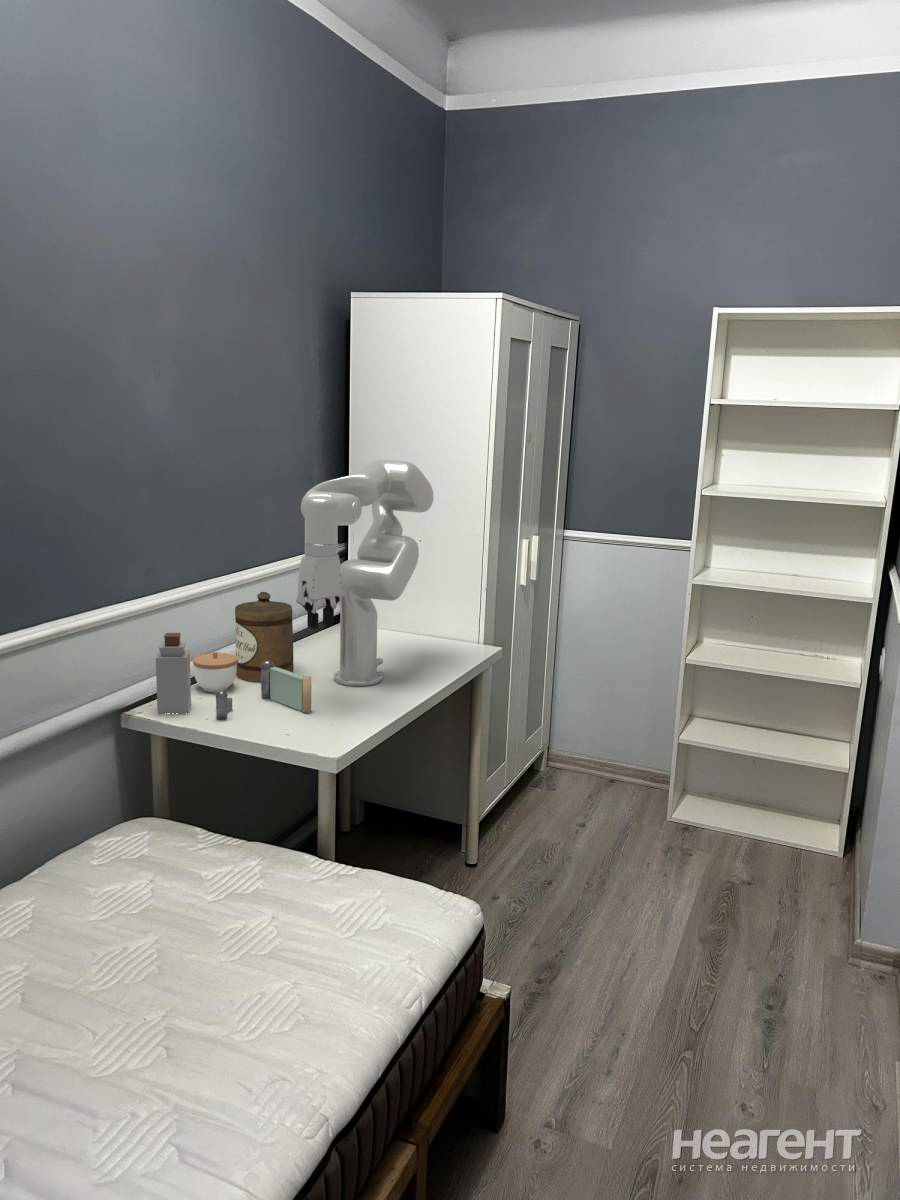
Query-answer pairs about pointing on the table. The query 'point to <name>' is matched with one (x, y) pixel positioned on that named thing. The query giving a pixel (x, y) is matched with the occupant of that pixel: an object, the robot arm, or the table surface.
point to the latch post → (222, 705)
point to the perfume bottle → (173, 676)
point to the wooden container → (263, 636)
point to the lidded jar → (215, 671)
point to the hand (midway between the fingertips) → (320, 625)
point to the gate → (290, 689)
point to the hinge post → (265, 679)
